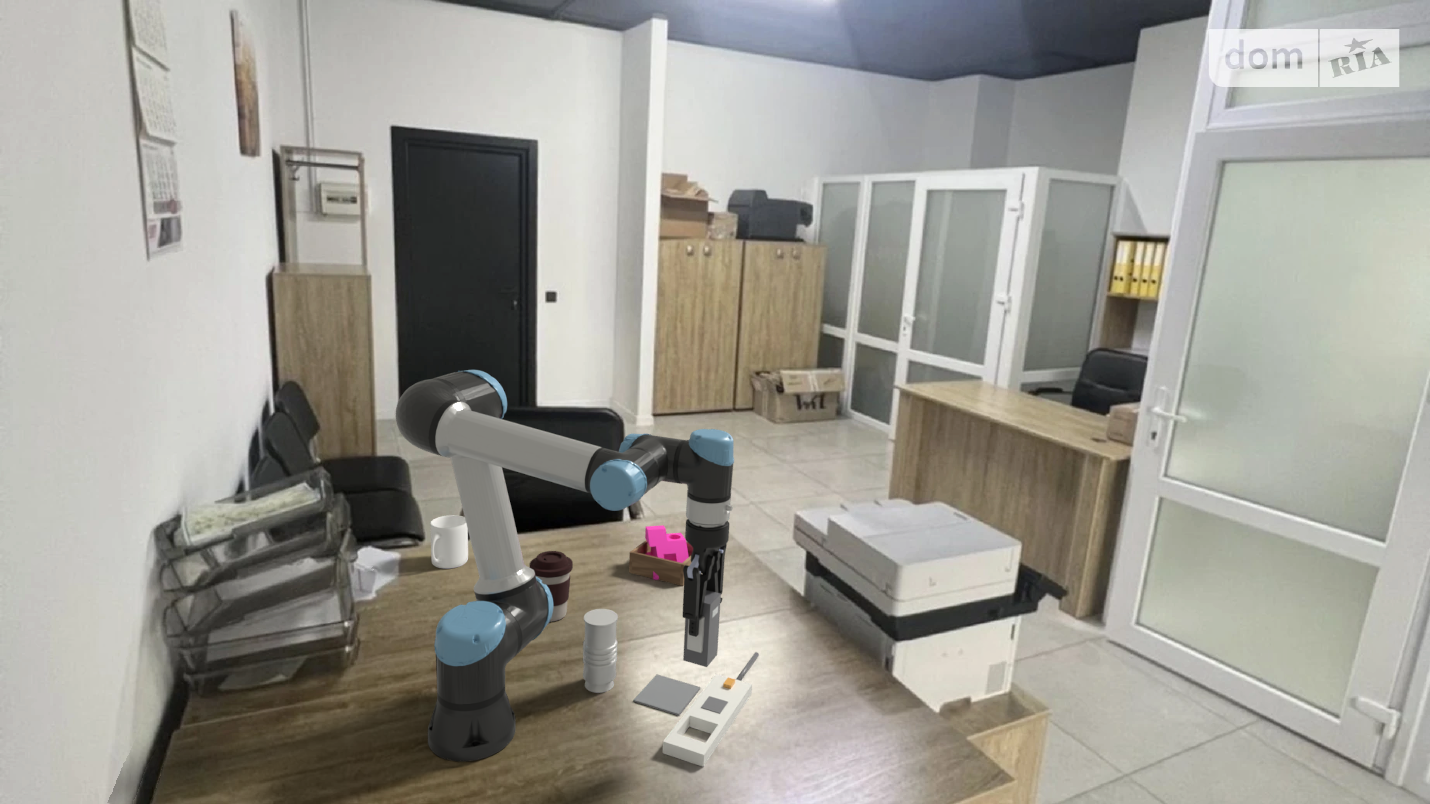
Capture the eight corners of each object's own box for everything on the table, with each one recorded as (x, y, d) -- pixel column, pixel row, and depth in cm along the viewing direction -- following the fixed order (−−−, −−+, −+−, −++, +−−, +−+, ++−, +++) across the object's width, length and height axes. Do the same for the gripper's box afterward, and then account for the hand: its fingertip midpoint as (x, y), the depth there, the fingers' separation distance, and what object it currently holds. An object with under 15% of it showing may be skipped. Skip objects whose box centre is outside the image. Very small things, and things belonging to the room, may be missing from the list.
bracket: (644, 561, 214) (645, 526, 212) (679, 558, 217) (681, 524, 215) (653, 579, 203) (655, 543, 201) (691, 576, 206) (693, 540, 204)
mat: (679, 715, 147) (679, 714, 147) (633, 701, 151) (633, 699, 151) (700, 688, 156) (700, 687, 156) (656, 675, 160) (656, 674, 160)
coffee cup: (577, 607, 187) (577, 549, 183) (565, 627, 177) (565, 567, 174) (537, 603, 188) (537, 546, 184) (523, 623, 178) (523, 563, 175)
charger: (707, 667, 134) (710, 604, 131) (683, 660, 136) (686, 598, 133) (717, 654, 138) (721, 593, 135) (694, 648, 140) (697, 587, 137)
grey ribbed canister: (611, 672, 160) (613, 606, 157) (620, 690, 154) (621, 622, 151) (579, 677, 158) (580, 610, 154) (586, 696, 151) (587, 627, 148)
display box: (682, 586, 201) (683, 564, 199) (629, 572, 207) (629, 552, 205) (704, 565, 213) (705, 545, 212) (653, 554, 219) (653, 534, 218)
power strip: (703, 766, 133) (704, 750, 133) (662, 753, 136) (663, 737, 136) (773, 660, 168) (774, 647, 167) (739, 651, 171) (740, 638, 170)
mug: (473, 555, 212) (472, 516, 209) (457, 574, 200) (456, 533, 198) (439, 553, 212) (438, 514, 210) (421, 572, 200) (420, 530, 198)
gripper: (706, 541, 122) (699, 673, 127) (746, 508, 138) (738, 626, 143) (664, 532, 125) (659, 661, 130) (708, 500, 140) (702, 616, 146)
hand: (701, 642), depth 136 cm, fingers closed on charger, 5 cm apart
